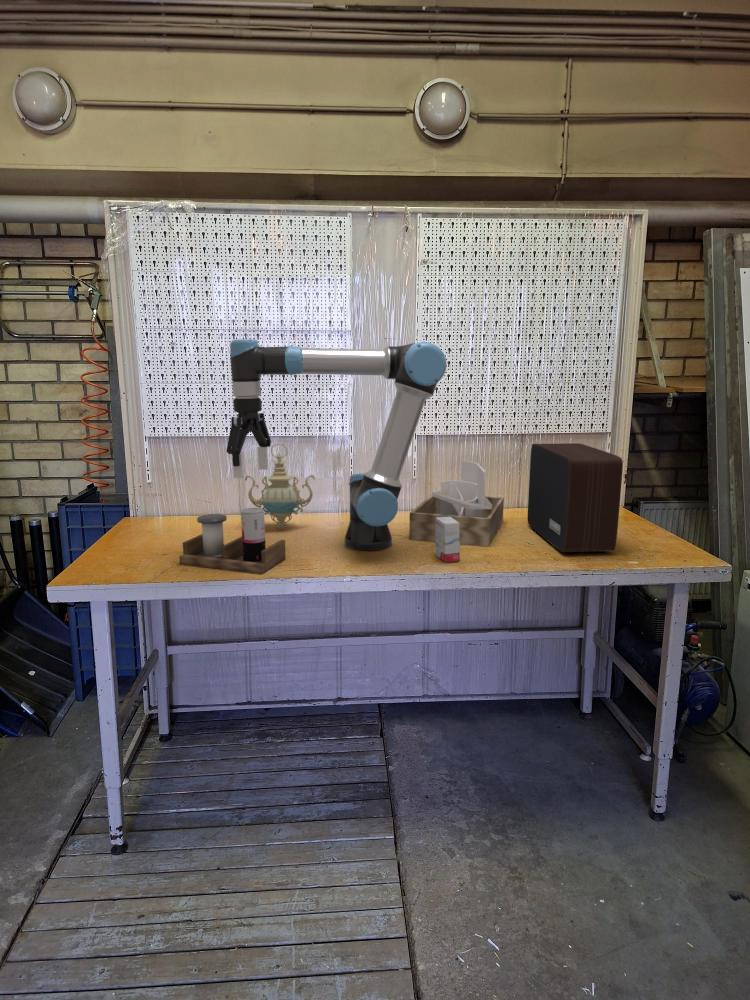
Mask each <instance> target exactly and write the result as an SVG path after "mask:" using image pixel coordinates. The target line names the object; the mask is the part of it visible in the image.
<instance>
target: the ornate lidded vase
mask: <svg viewBox="0 0 750 1000" xmlns="http://www.w3.org/2000/svg"><path fill="white" fill-rule="evenodd" d="M278 445H280V446H283V448H285V450H286V453H285V454H284V456H282V455H281V453H280V452H279V453H278V454H277V456H276V455H274V454H273V448H274V447H275V446H278ZM270 453H271V456H272V457H273V458H275V459H277V461H275V460H272V462H273V463H274V467H273V470H274V471H273V472H272V474H273V475H272V474H271V475H270V476H269V477H268V475H265V476H264V477H263V478H262V480H261V483H262V484H263V485H264V488H263V489H262V490H261V491H260V492H261V498H257V499H255V498H254V496H253V495H252V491H253V488H255V487H256V489H259V487H260V485H259V484H257V483H256V479H255V478H254V477H253V476H251V475H249V474H247V475H245V476H244V481H245V482H247V480H248V478H249V479H251V480H252V486H251V488H249V491H248V495H247V496H248V499H249V501H250V502H251V504H252V505H254V506H255V507H256V508H261V509H263V511H264V516H265V515H266V516H267V515H269V516H271V517H270V518H271V520H272V521H273V522H274V523H276V525H275V527H278V528H279V529H281V530H283V529H285V528H286V527H289V525H288V523H289V522H290V521H291V520H292V518H293V516H292V515H293V514H295V515H298V514H299V511H300V512H301V513H302V512H304V510H303V508H304V507H306V506H308V505H309V503H310V502H311V501H312V499H313V490H312V488H311V486H310V485H309V484H308V479H309V478H312V479H313V481H315V480H316V477H315V474H310V475H308V476H307V477H306V479H305V483H303V484H302V485H301V488H302V489H304V488H305V487H307V488H308V490H309V491H308V492H309V496H308V498H306V499H305V498H302V497H301V496H300V493H301V490H300V489H299V488H298V487H297V485H298V483H299V479H298V477H297V476H295V475H293V476H292V475H289V474H288V473H287V472H288V471H287V470H286V467H287V466H285V463H286V460H284V461H282V459H283V458H285V457H286V456H287V454H288V448H287V446H286V445H284V444H283V443H275V444H274V445H272V447H271V448H270ZM267 478H268V479H267ZM291 479H293V484H290V482H289V481H290V480H291ZM267 480H268V481H269V482H270V483H271V484H270V485H269V484H268V481H267ZM262 506H263V507H262ZM295 509H296V510H295ZM287 517H288V520H287ZM276 520H277V521H276ZM286 520H287V521H286Z"/></svg>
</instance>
